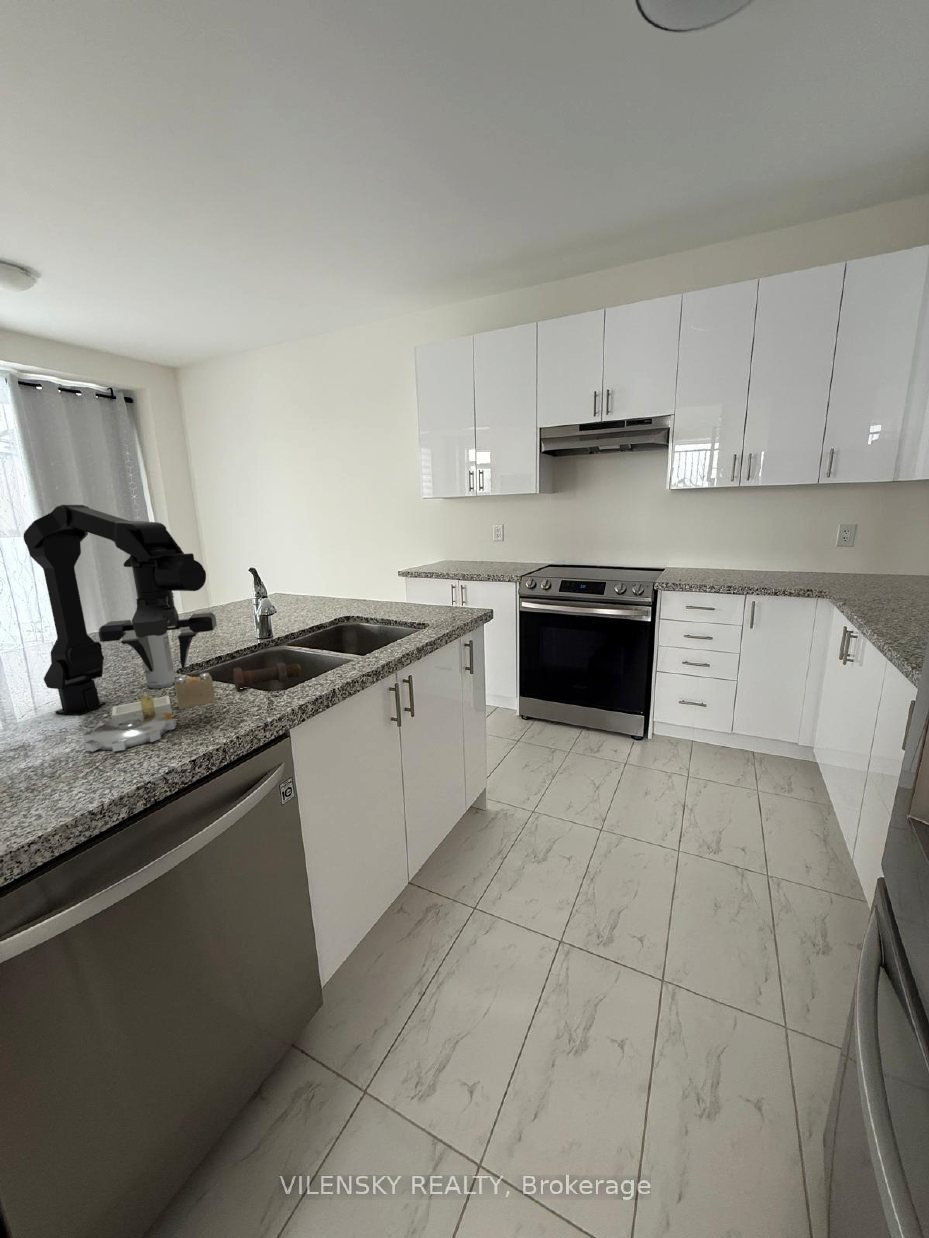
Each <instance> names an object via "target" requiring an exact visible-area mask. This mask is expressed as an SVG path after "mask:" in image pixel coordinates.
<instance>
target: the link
mask: <svg viewBox="0 0 929 1238" xmlns="http://www.w3.org/2000/svg"><path fill="white" fill-rule="evenodd" d="M173 684H174V690H175V695H176V701H177V705H178V709H179V710H180V711H181V710H184V709H189V708H192V707H193V708H194V707H198V706H202V705H207V704H212V703H216V696H215V691H214V682H213V678H212V676H211V674H210V673H209V672H202V673H200V674H199V676H192V677H188V678H186V677H184V676H183V677H182V676H181V677H178V678H175V681H174V682H173Z"/></svg>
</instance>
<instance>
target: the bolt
mask: <svg viewBox="0 0 929 1238" xmlns="http://www.w3.org/2000/svg"><path fill="white" fill-rule="evenodd" d="M232 675H233V676H232V677H233V684H234V688H235V691H237V692H241V691H244V690H243V689H240V688H244V689H245V687H246V686H250V685H255V684H257V683H258V684H259V683H266V682H272V681H276V680H277V682H278V683H284V682H287V681H288V678H289V679H290V678H295V677H300V676H301V675H302V667H301V665H300V664H299V663H294V664H288V665H287V664H285V663H284V662H278V663H276V664H275V666H274V667H273V666H271V667H266V668H259V669H255V670H246V671H245V670H242V668H241V666H239V667H234V669H233V672H232Z"/></svg>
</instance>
